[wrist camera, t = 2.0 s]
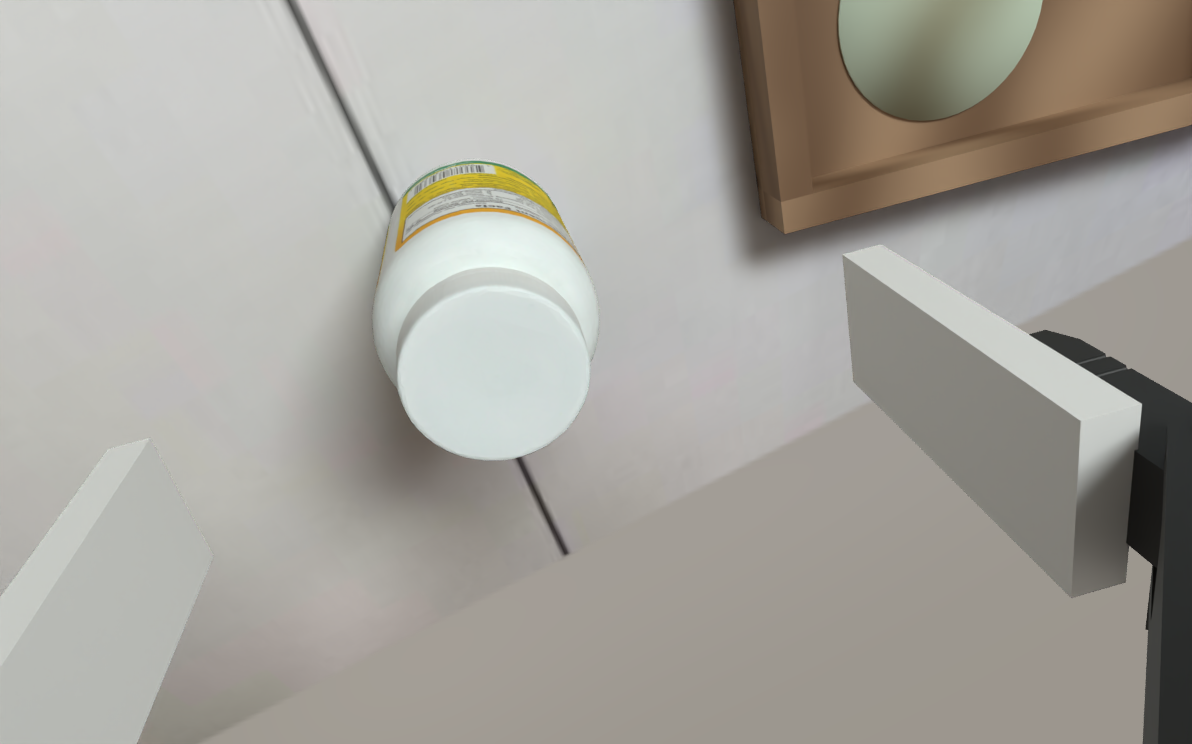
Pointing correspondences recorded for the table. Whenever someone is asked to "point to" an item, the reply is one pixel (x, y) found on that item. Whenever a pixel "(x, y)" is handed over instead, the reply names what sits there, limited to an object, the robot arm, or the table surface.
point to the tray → (947, 93)
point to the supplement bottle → (484, 312)
